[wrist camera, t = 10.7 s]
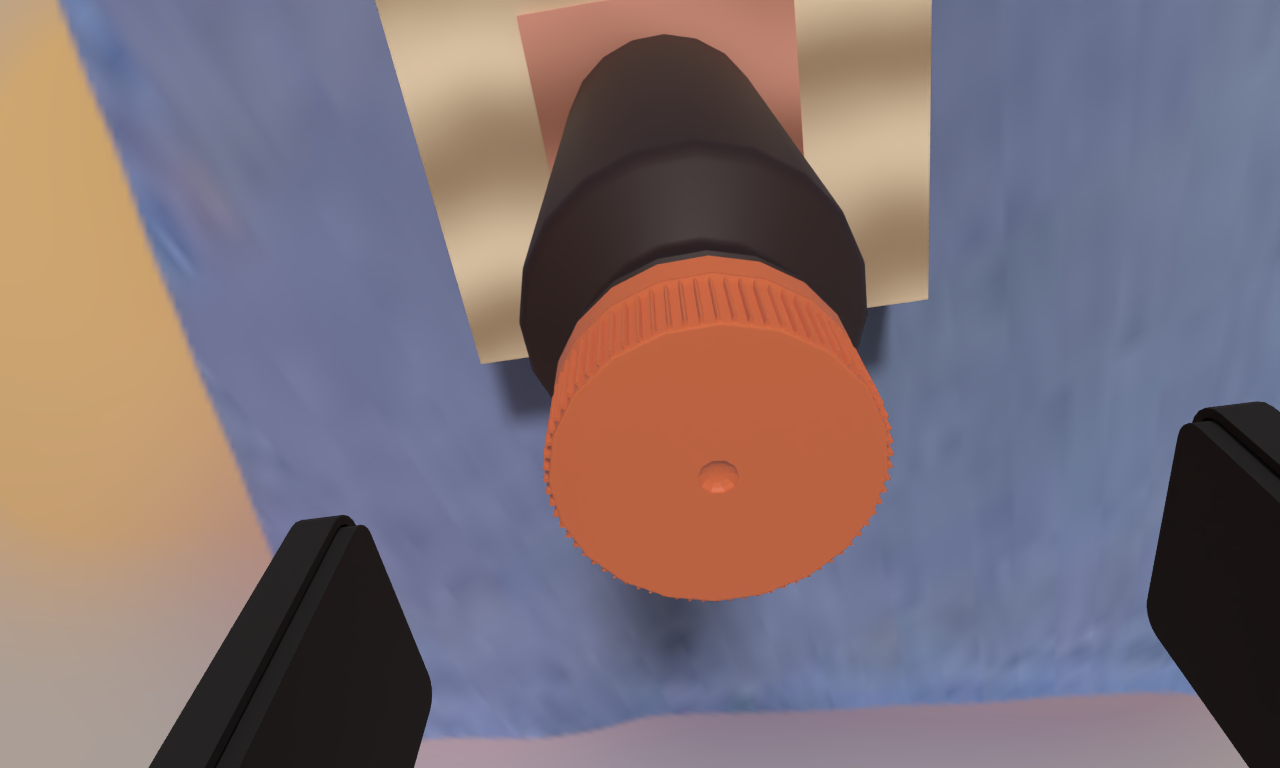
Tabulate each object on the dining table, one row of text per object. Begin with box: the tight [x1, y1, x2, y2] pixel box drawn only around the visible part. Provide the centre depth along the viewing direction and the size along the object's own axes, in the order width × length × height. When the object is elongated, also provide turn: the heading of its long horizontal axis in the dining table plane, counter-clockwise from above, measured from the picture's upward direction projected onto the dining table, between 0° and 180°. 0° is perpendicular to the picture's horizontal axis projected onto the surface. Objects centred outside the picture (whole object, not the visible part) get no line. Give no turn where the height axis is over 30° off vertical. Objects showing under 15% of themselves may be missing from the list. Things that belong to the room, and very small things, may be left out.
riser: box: [375, 0, 932, 364], centre depth 31 cm, size 16×18×5 cm
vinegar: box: [519, 34, 894, 602], centre depth 20 cm, size 7×7×20 cm
